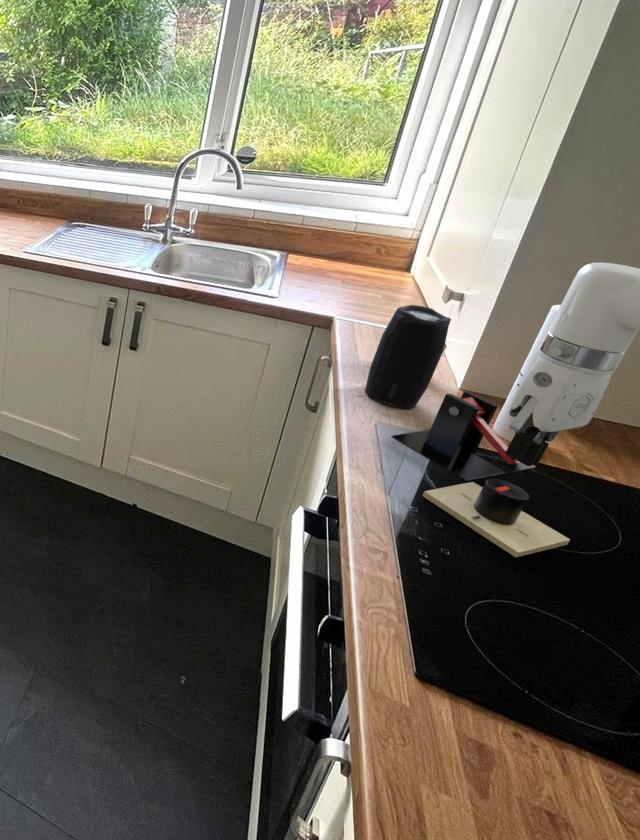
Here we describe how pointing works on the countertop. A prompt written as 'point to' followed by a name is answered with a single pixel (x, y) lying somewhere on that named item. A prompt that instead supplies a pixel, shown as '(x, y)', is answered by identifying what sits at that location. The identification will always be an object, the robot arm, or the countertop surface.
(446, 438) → the black lever stand
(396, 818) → the countertop surface
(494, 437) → the lever
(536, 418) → the robot arm
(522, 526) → the panel
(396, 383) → the portable speaker
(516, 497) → the knob
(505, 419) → the cylindrical container
